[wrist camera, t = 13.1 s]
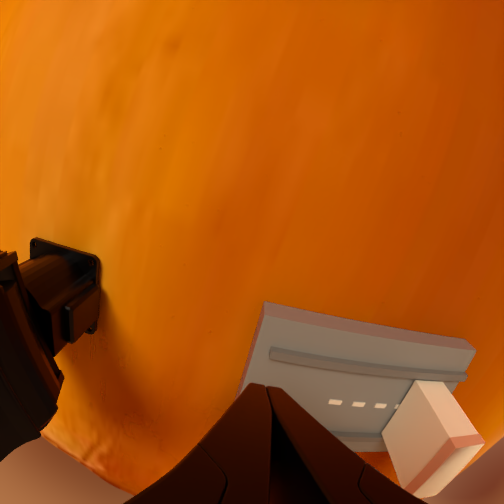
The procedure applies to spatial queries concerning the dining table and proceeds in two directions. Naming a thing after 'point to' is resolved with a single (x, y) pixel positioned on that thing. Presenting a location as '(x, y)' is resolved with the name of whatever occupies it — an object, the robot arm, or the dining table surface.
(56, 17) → the dining table surface
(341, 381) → the toy road segment
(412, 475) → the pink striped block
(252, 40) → the dining table surface
